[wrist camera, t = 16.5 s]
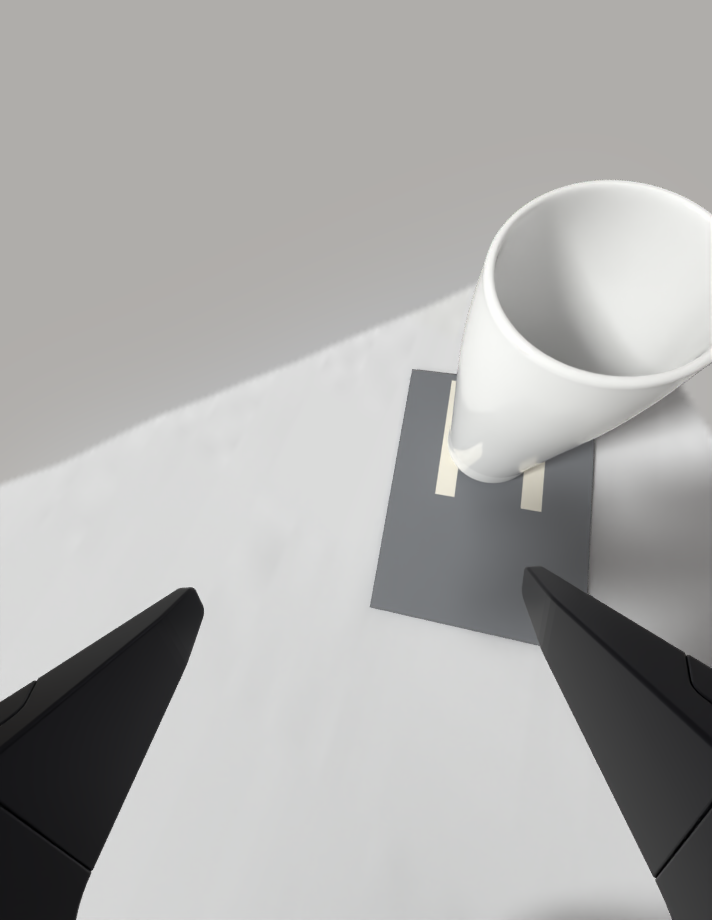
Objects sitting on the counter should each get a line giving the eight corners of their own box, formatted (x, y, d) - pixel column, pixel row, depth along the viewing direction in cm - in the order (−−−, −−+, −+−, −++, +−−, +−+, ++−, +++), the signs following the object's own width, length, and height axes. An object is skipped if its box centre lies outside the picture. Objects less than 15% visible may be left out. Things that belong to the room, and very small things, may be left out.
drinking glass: (493, 519, 23) (647, 444, 9) (413, 446, 25) (429, 284, 10) (566, 443, 24) (819, 258, 9) (482, 378, 26) (587, 138, 11)
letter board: (582, 654, 21) (584, 656, 21) (370, 606, 23) (369, 607, 22) (594, 393, 25) (596, 391, 24) (412, 371, 27) (412, 368, 26)
